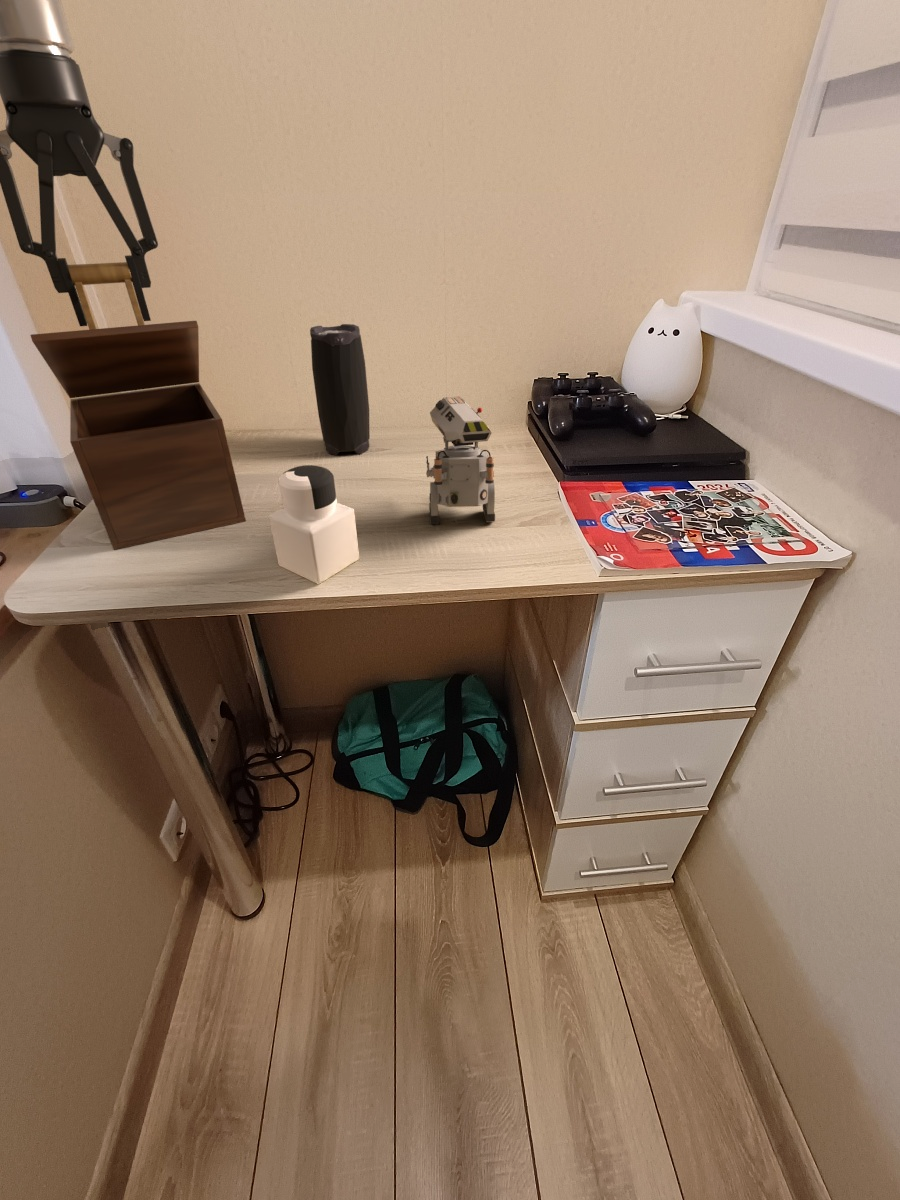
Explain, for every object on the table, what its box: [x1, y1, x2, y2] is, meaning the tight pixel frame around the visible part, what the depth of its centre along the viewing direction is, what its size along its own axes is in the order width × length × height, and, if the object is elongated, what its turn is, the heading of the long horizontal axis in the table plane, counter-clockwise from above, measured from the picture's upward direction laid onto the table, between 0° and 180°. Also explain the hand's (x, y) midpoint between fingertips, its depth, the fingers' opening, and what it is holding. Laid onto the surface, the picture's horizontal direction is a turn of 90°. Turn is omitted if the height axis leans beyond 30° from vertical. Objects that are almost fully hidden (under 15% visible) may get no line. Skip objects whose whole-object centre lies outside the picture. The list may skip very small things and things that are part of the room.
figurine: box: [425, 396, 496, 525], centre depth 77 cm, size 9×12×15 cm
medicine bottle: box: [268, 464, 360, 585], centre depth 67 cm, size 7×7×12 cm
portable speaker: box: [309, 323, 371, 456], centre depth 95 cm, size 9×9×20 cm
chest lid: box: [30, 261, 200, 399], centre depth 71 cm, size 18×17×9 cm
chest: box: [69, 382, 247, 551], centre depth 78 cm, size 18×17×14 cm
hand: (115, 321), depth 68 cm, fingers closed on chest lid, 6 cm apart
